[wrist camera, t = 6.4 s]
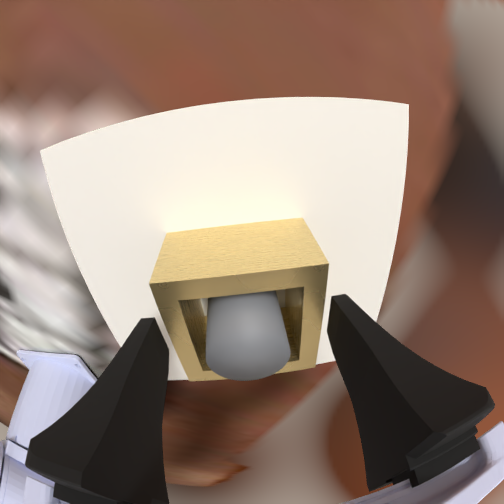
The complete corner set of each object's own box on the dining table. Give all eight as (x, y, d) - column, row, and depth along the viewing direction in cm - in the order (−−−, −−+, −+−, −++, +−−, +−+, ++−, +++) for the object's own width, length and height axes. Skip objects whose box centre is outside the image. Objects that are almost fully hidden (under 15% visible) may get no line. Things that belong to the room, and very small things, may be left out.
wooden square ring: (299, 315, 15) (315, 367, 12) (193, 327, 14) (189, 381, 11) (302, 217, 12) (329, 263, 9) (166, 232, 11) (149, 283, 8)
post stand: (361, 343, 18) (387, 404, 14) (144, 369, 18) (134, 435, 13) (396, 102, 10) (484, 122, 5) (51, 145, 9) (-29, 186, 5)
